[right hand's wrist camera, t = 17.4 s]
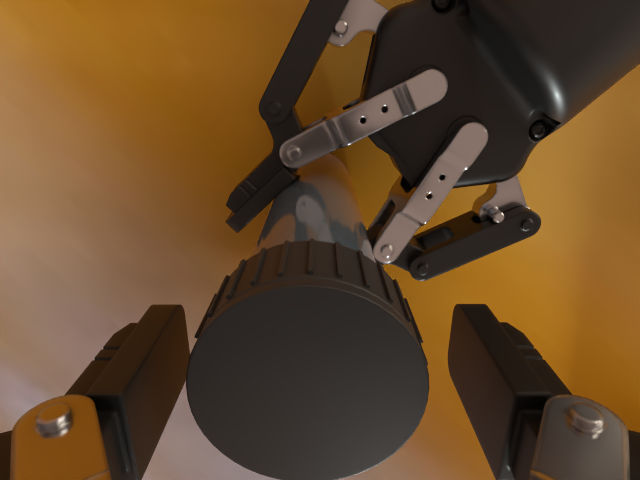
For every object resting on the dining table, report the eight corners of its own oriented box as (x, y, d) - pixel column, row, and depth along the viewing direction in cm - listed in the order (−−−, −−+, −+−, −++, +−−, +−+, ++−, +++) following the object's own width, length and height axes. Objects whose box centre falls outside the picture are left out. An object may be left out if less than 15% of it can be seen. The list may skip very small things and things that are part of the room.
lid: (299, 192, 10) (293, 227, 8) (452, 322, 11) (486, 385, 9) (170, 336, 11) (132, 402, 9) (319, 437, 12) (319, 518, 10)
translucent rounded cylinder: (364, 193, 26) (439, 388, 10) (308, 231, 27) (290, 469, 11) (324, 135, 25) (330, 248, 8) (266, 178, 25) (173, 353, 9)
